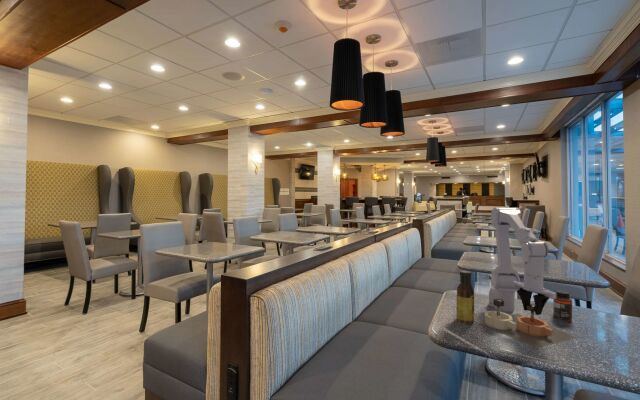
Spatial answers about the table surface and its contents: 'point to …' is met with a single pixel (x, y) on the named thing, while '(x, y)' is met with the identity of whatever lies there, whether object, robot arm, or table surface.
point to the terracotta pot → (533, 327)
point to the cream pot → (499, 320)
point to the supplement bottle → (562, 306)
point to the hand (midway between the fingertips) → (532, 312)
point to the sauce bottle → (465, 299)
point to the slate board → (533, 340)
